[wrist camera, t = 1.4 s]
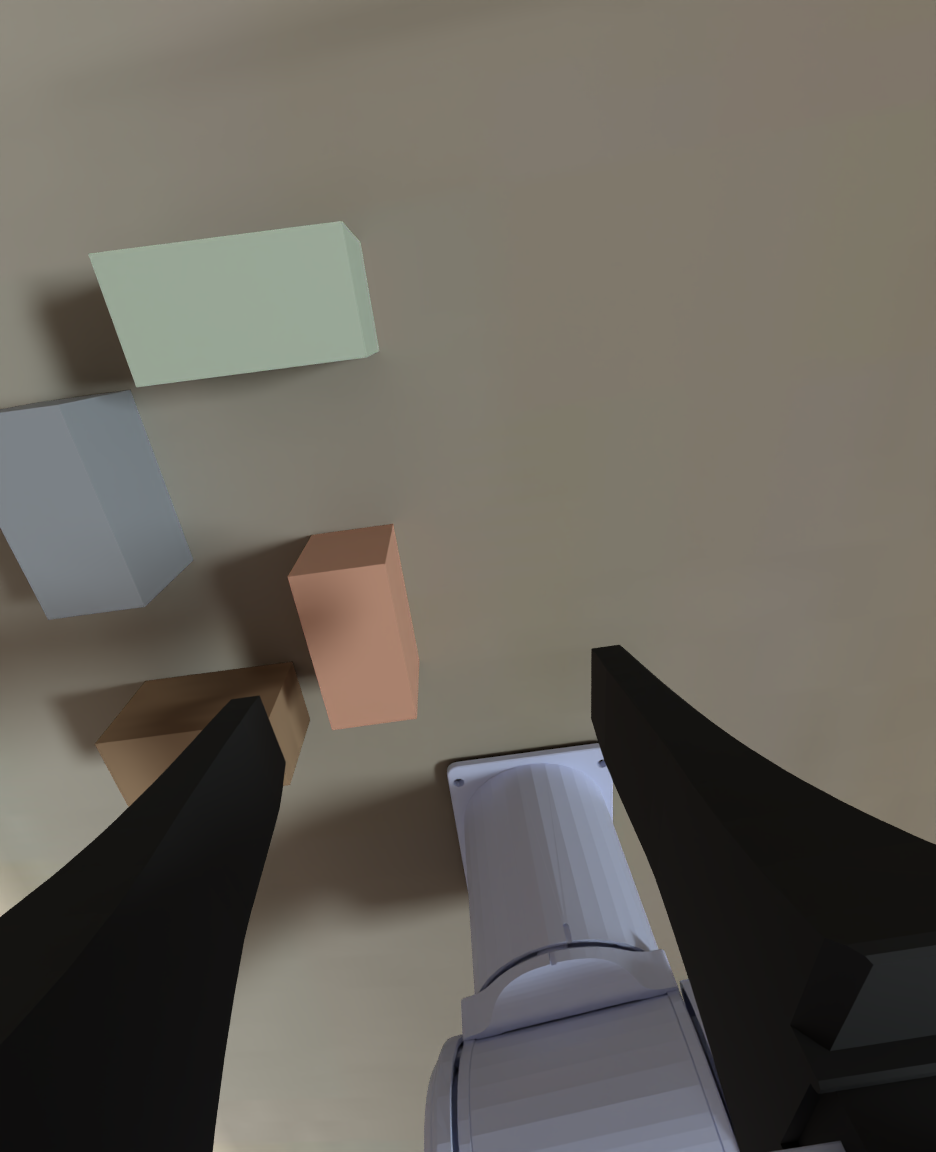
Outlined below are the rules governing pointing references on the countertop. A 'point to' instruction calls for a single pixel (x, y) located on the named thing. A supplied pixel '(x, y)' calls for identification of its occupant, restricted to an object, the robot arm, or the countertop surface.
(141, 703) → the walnut brick
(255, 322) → the sage brick
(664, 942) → the countertop surface
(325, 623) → the terracotta brick
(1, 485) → the slate brick
